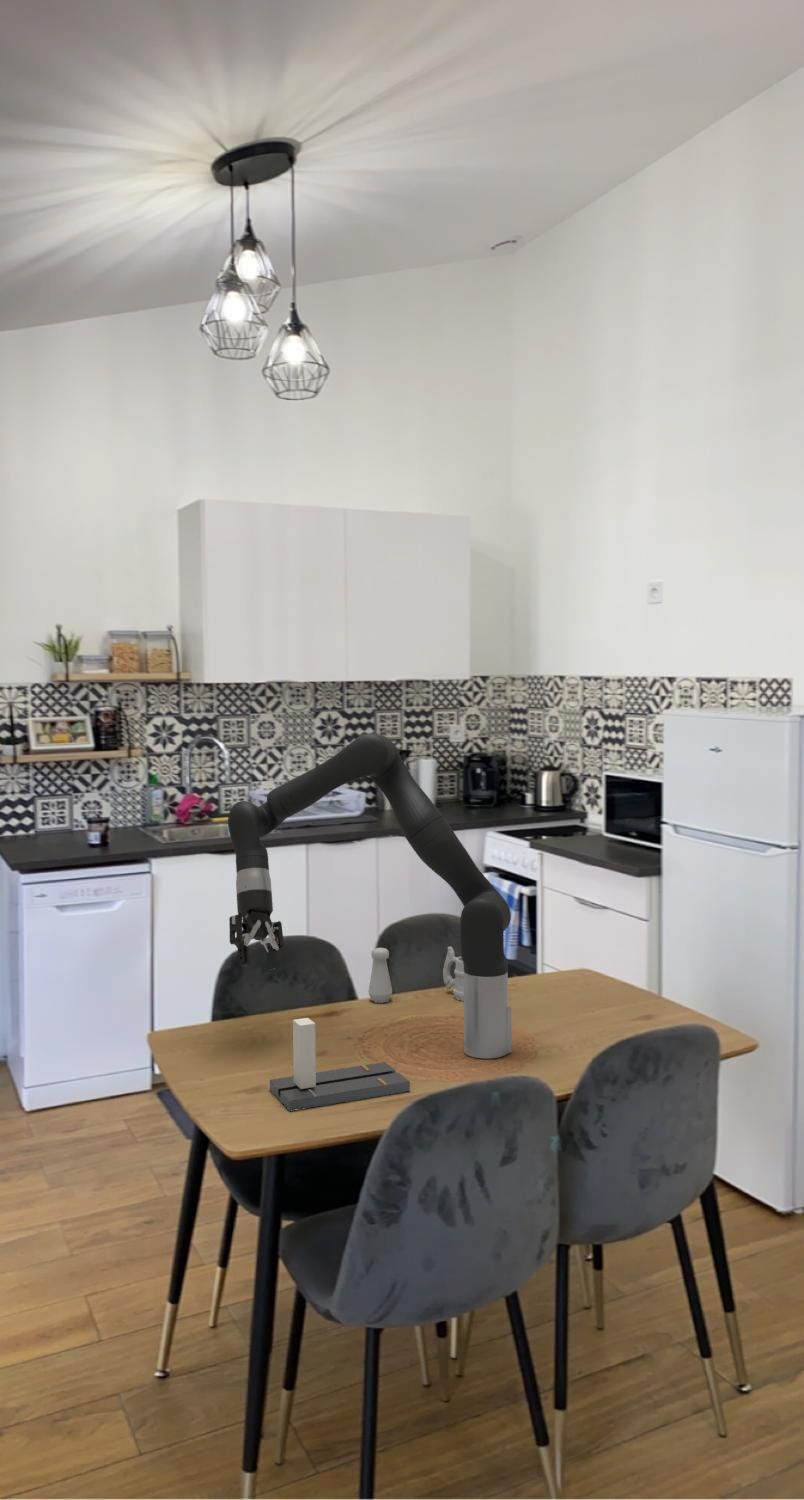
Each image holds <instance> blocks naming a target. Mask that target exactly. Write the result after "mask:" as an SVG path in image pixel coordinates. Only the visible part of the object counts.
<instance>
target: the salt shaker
mask: <svg viewBox="0 0 804 1500" xmlns="http://www.w3.org/2000/svg"><path fill="white" fill-rule="evenodd" d="M370 955H371V958H372V959H373V962H372V967H371V968H372V969H371V975H370V981H369V986H368V996H369V998H370V999H371V1002H373V1001H374V1002H375V1004H384V1003H383V1002H386V1003H388V1002H389V1001H390V998H391V996H392V994H393V989H392V987H393V986H392V983H391V978H390V972H389V969H388V968H389V967H388V963H387V959H389V957H390V952H389V950H388V949H387V948H384V947H377V948H376V947H375V948H373V949H372V950H371V954H370ZM387 1001H388V1002H387ZM374 1002H373V1003H374ZM377 1002H378V1003H377ZM381 1002H382V1003H381Z"/></svg>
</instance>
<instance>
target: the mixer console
mask: <svg viewBox="0 0 804 1500" xmlns="http://www.w3.org/2000/svg"><path fill="white" fill-rule="evenodd" d="M410 1084H411V1082H410V1080H409V1079H408V1078H407V1077H405V1076H404V1075H402V1074H401V1073H400V1072H396V1069H395V1068H393V1067H392V1066H391V1065H390V1064H388V1063H387V1062H385V1061H382V1062H377V1063H369V1064H363V1063H362V1064H359V1065H358V1066H357V1065H356V1066H350V1067H345V1068H337V1069H331V1070H330V1069H329V1070H324V1071H323V1070H322V1071H318V1072H316V1087H311V1088H304V1089H300V1088H299V1087H298V1086H297V1085H296V1084H295V1083H294V1075H292V1076H285V1077H280V1078H272V1079H269V1091H270V1093H272V1094H273V1095H274V1096H275V1098H276V1099H279V1100H280V1101H281V1102H282V1103H283V1104H284V1105H283V1104H282V1103H281V1102H280V1101H279V1100H278V1101H279V1102H280V1103H281V1104H282V1105H283V1106H284V1107H285V1108H286V1107H287V1108H288V1109H287V1108H286V1109H287V1111H288V1112H292V1111H291V1110H295V1109H302V1110H304V1109H303V1108H308V1109H311V1108H310V1107H314V1108H319V1107H318V1106H320V1107H324V1106H325V1105H326V1106H331V1105H330V1104H332V1105H336V1104H335V1103H338V1104H342V1103H341V1102H344V1103H347V1102H346V1101H350V1102H353V1101H352V1100H356V1101H360V1100H359V1099H362V1100H365V1099H364V1098H368V1099H371V1098H370V1097H374V1098H377V1097H378V1096H380V1097H384V1096H390V1095H389V1094H391V1095H395V1094H394V1093H397V1094H402V1093H401V1092H403V1093H407V1092H406V1091H409V1092H411V1085H410ZM378 1098H379V1097H378Z"/></svg>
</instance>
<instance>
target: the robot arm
mask: <svg viewBox="0 0 804 1500" xmlns="http://www.w3.org/2000/svg"><path fill="white" fill-rule="evenodd" d="M365 777H369V778H370V779H371V780H372V782H373V783H374V784H375V785H376V786H377V788H379V790H380V791H381V792H382V793H383V795H384V796H385V797H386V800H387V801H388V802H389V804H390V806H391V808H392V811H393V813H394V814H393V815H394V816H395V820H396V822H397V825H398V826H399V828H400V830H401V832H402V834H403V836H404V838H405V840H406V841H407V842H408V843H409V845H410V847H411V848H412V849H413V851H414V852H415V853H416V855H417V856H418V858H420V860H421V861H422V862H423V863H424V865H426V866H427V867H428V868H430V869H431V871H432V872H434V873H435V874H436V875H437V876H439V877H440V878H441V879H442V880H444V881H445V883H446V884H448V886H449V887H450V888H451V889H452V890H453V891H454V893H455V894H456V896H457V897H458V899H459V900H460V902H461V904H462V905H463V908H462V910H461V913H460V919H459V921H460V922H459V934H460V935H459V937H460V938H459V939H460V956H461V957H462V961H463V964H464V1001H463V1053H464V1054H466V1055H467V1056H469V1057H472V1058H476V1059H498V1058H502V1057H504V1056H506V1055H508V1054H511V1053H512V1051H513V1050H512V1049H513V1048H512V1045H513V1043H512V1042H513V1041H512V1039H513V1038H512V1037H513V1035H512V1033H513V1032H512V1031H513V1030H512V1027H513V1026H512V1024H513V1023H512V1022H513V1020H512V1017H513V1015H512V1008H511V1006H509V1002H508V1001H509V1000H508V999H509V998H508V996H509V995H508V992H509V990H508V988H509V987H508V985H509V984H508V981H509V980H508V979H509V977H508V975H509V973H508V971H509V969H508V968H509V967H508V966H509V965H508V964H509V963H508V959H507V957H506V955H505V949H504V948H505V947H504V946H505V943H504V932H505V931H506V930H507V929H508V927H509V925H510V923H511V917H512V916H511V915H512V914H511V913H512V912H511V909H510V906H509V904H508V902H507V900H506V899H505V898H504V897H503V896H502V895H501V893H500V892H499V891H498V890H497V889H496V888H495V887H494V886H493V884H492V883H491V882H490V881H489V880H488V878H486V877H485V874H483V873H482V871H481V870H480V869H479V868H478V866H477V865H476V862H475V861H474V860H473V859H472V857H471V855H470V854H469V852H468V851H467V849H466V848H465V846H464V845H463V843H462V842H461V841H460V839H459V838H458V836H457V835H456V833H455V832H454V830H453V828H452V827H451V825H450V824H449V823H448V821H447V820H446V819H445V817H444V816H443V814H442V813H441V812H440V810H439V809H438V808H437V807H436V805H435V804H434V803H433V802H432V800H431V799H430V798H429V796H428V795H427V794H426V792H425V791H424V790H423V789H422V788H421V787H420V784H418V783H417V781H416V780H415V779H414V777H413V776H412V774H411V772H410V771H409V769H408V768H407V765H406V764H405V762H404V761H403V758H402V756H401V754H400V753H399V750H398V749H397V747H396V746H395V744H394V743H393V741H392V740H391V739H390V738H388V737H387V736H385V735H383V734H378V733H369V732H368V733H364V734H361V735H359V736H357V737H356V738H355V739H354V740H353V741H351V742H350V743H349V744H347V745H346V746H345V747H344V748H342V749H341V750H340V751H339V752H337V753H335V755H333V756H331V757H330V758H328V759H327V760H326V761H324V762H322V763H321V764H319V765H317V766H316V767H314V768H312V769H309V770H308V771H306V772H304V773H302V774H300V775H298V776H296V777H294V778H292V779H291V780H287V782H285V783H282V784H281V785H279V786H277V787H275V788H274V789H273V788H272V790H271V791H270V792H268V793H267V796H266V802H264V803H263V804H261V805H260V806H257V805H256V804H254V803H252V802H250V801H246V800H242V801H241V800H240V801H238V802H235V803H234V805H232V807H230V810H229V812H228V817H227V826H228V832H229V836H230V839H231V843H232V848H233V849H234V853H235V868H236V870H235V871H236V876H235V877H236V879H235V886H236V887H235V889H236V905H237V906H236V907H237V908H236V909H237V914H235V915H232V916H230V917H229V919H228V921H229V944H230V945H234V946H235V947H236V949H237V957H238V958H237V959H238V963H239V966H240V967H247V966H249V965H250V963H251V962H250V960H251V959H250V947H249V944H250V943H251V940H256V941H259V943H260V944H261V945H263V946H264V949H265V950H266V954H265V955H266V963H267V964H266V965H267V966H266V969H267V970H268V971H272V970H276V969H277V968H278V966H279V962H278V960H279V959H278V951H279V950H282V949H284V948H285V943H284V933H283V925H282V922H281V921H280V920H279V921H272V918H271V916H272V915H271V914H272V913H273V912H274V906H273V905H274V904H273V891H272V880H271V876H270V875H271V874H270V865H269V856H268V855H269V853H268V849H267V848H266V846H265V845H264V844H263V843H262V841H261V838H263V837H265V836H267V835H269V834H271V832H273V831H274V830H275V829H276V828H277V827H279V826H280V825H281V824H282V823H283V822H284V821H286V820H287V819H288V818H290V817H293V816H294V815H296V814H298V813H299V812H302V811H303V810H305V809H307V808H309V807H311V806H313V805H314V804H315V803H318V801H320V800H321V799H323V798H324V797H325V796H327V795H328V794H329V793H331V792H333V791H334V790H336V789H338V788H340V787H342V786H344V785H345V784H348V783H350V782H352V781H353V782H354V781H356V780H359V779H361V778H365Z"/></svg>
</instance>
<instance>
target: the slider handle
mask: <svg viewBox="0 0 804 1500" xmlns="http://www.w3.org/2000/svg"><path fill="white" fill-rule="evenodd" d="M292 1032H293V1033H292V1036H293V1037H292V1040H293V1041H292V1042H293V1043H292V1045H293V1046H292V1047H293V1048H292V1049H293V1050H292V1052H293V1053H292V1054H293V1056H292V1057H293V1059H292V1061H293V1076H294V1083H295V1084H296V1085H297V1086H298V1087H299V1088H300V1089H304V1088H311V1087H316V1073H317V1072H316V1070H317V1069H316V1068H317V1067H316V1062H317V1061H316V1058H317V1057H316V1023H315V1022H314V1021H313V1020H311V1019H310V1017H303V1018H296V1019H292Z"/></svg>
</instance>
